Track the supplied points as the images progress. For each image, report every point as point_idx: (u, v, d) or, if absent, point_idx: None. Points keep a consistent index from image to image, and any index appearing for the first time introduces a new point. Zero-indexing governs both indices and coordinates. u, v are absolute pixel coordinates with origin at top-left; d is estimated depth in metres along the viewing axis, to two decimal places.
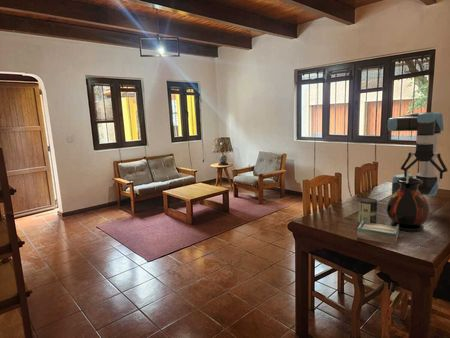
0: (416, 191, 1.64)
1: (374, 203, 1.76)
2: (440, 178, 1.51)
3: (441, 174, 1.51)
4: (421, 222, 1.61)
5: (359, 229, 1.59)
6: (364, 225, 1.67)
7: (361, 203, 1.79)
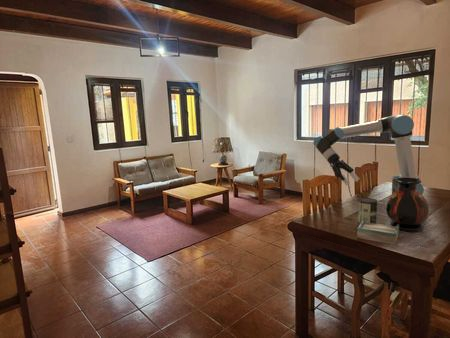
0: (415, 191, 1.63)
1: (374, 203, 1.76)
2: (342, 180, 1.83)
3: None
4: (422, 221, 1.61)
5: (359, 229, 1.59)
6: (364, 225, 1.67)
7: (361, 203, 1.79)
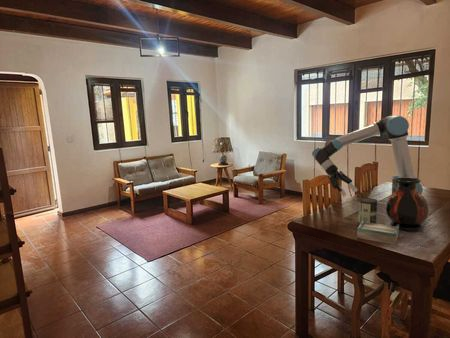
0: (415, 190, 1.64)
1: (374, 203, 1.76)
2: (340, 191, 1.86)
3: None
4: (422, 221, 1.62)
5: (359, 229, 1.59)
6: (364, 225, 1.67)
7: (361, 203, 1.79)
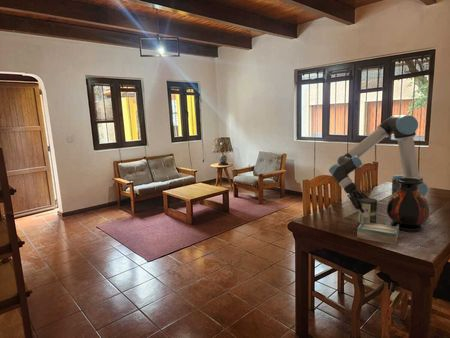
0: (417, 191, 1.64)
1: (374, 203, 1.76)
2: (362, 212, 1.78)
3: None
4: (423, 222, 1.62)
5: (359, 229, 1.59)
6: (364, 225, 1.67)
7: (361, 203, 1.79)
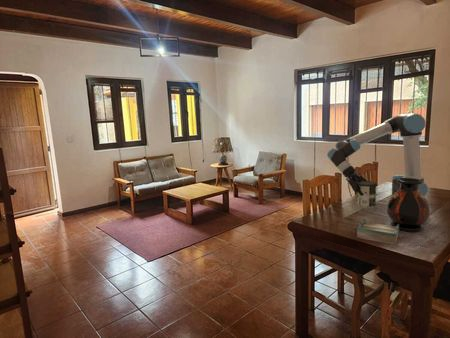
0: (417, 191, 1.64)
1: (373, 185, 1.74)
2: (361, 195, 1.76)
3: None
4: (423, 222, 1.62)
5: (359, 229, 1.59)
6: (364, 225, 1.67)
7: (360, 186, 1.77)
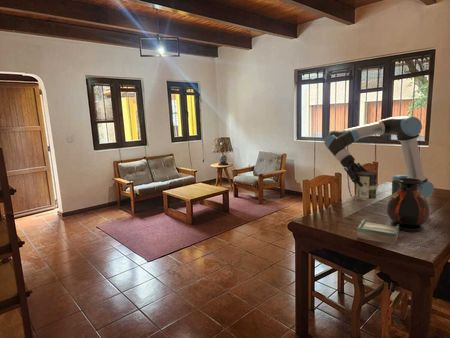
0: (417, 191, 1.64)
1: (373, 176, 1.59)
2: (360, 186, 1.61)
3: None
4: (423, 222, 1.62)
5: (359, 229, 1.59)
6: (364, 225, 1.67)
7: (359, 176, 1.62)
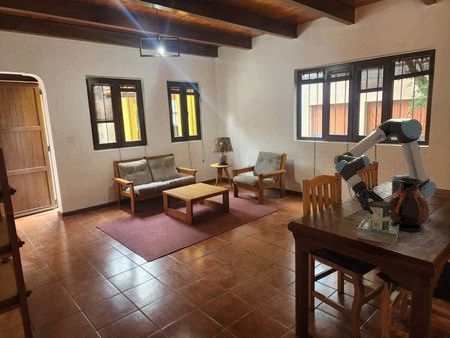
0: (417, 191, 1.64)
1: (387, 207, 1.55)
2: (371, 214, 1.56)
3: None
4: (423, 222, 1.62)
5: (359, 229, 1.59)
6: (364, 225, 1.67)
7: (372, 207, 1.58)
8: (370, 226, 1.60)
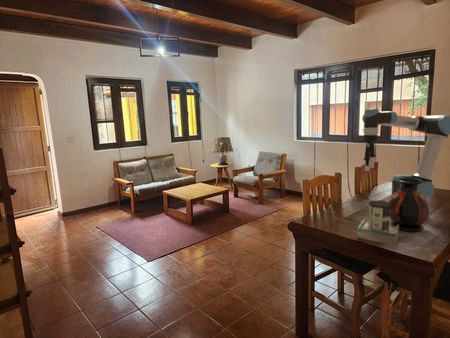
0: (417, 191, 1.64)
1: (387, 207, 1.55)
2: (365, 165, 1.78)
3: (366, 161, 1.77)
4: (423, 222, 1.62)
5: (359, 229, 1.59)
6: (364, 225, 1.67)
7: (372, 207, 1.58)
8: (370, 226, 1.60)
